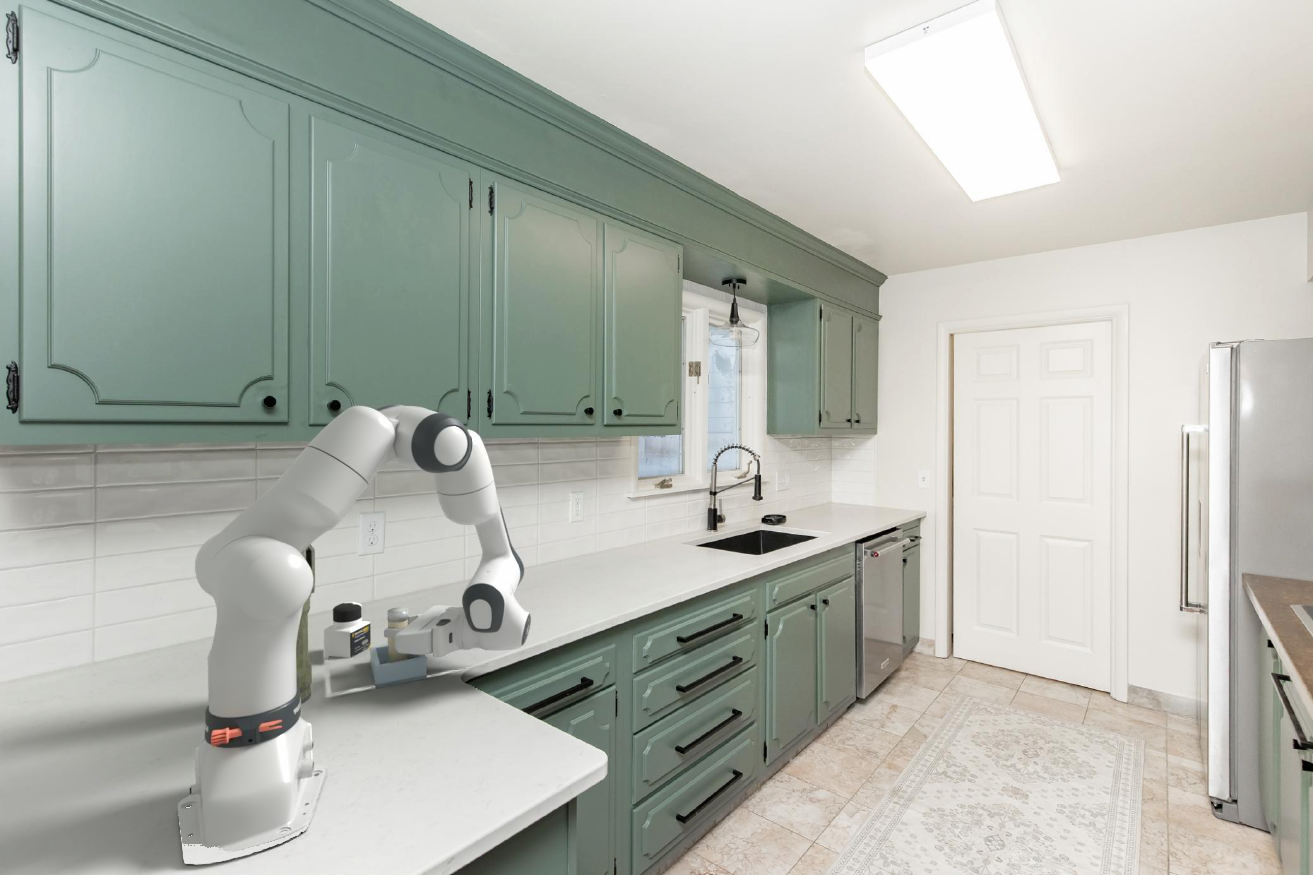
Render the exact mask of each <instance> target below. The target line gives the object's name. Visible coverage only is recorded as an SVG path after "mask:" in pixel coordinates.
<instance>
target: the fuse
mask: <svg viewBox="0 0 1313 875" xmlns="http://www.w3.org/2000/svg"><path fill="white" fill-rule="evenodd" d="M386 612H387V617H386V618H387V628H388V627H395V629H399V630H400V629H403V628H405V627H406V626H407V625H408V616H409V608H408V607H402V606H401V607H399V606H397V607H393V608H390V609H388V610H387V611H386ZM387 645H388V662H387V663H391V662H397V661H402V660H408V659H409V658H408V654H403V653H399V652H397V651H395V647H394V639H393V638H387Z"/></svg>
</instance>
